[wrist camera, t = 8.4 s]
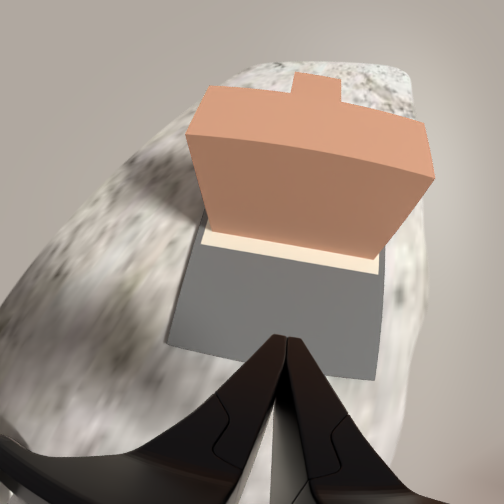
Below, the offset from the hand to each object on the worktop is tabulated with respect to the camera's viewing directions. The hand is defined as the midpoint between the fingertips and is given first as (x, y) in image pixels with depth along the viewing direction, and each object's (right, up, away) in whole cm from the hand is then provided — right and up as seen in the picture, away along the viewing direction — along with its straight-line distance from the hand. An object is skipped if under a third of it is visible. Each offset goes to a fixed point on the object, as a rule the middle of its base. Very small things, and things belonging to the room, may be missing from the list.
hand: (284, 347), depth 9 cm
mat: (+3, +6, +15) cm, 17 cm away
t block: (+3, +9, +16) cm, 19 cm away
